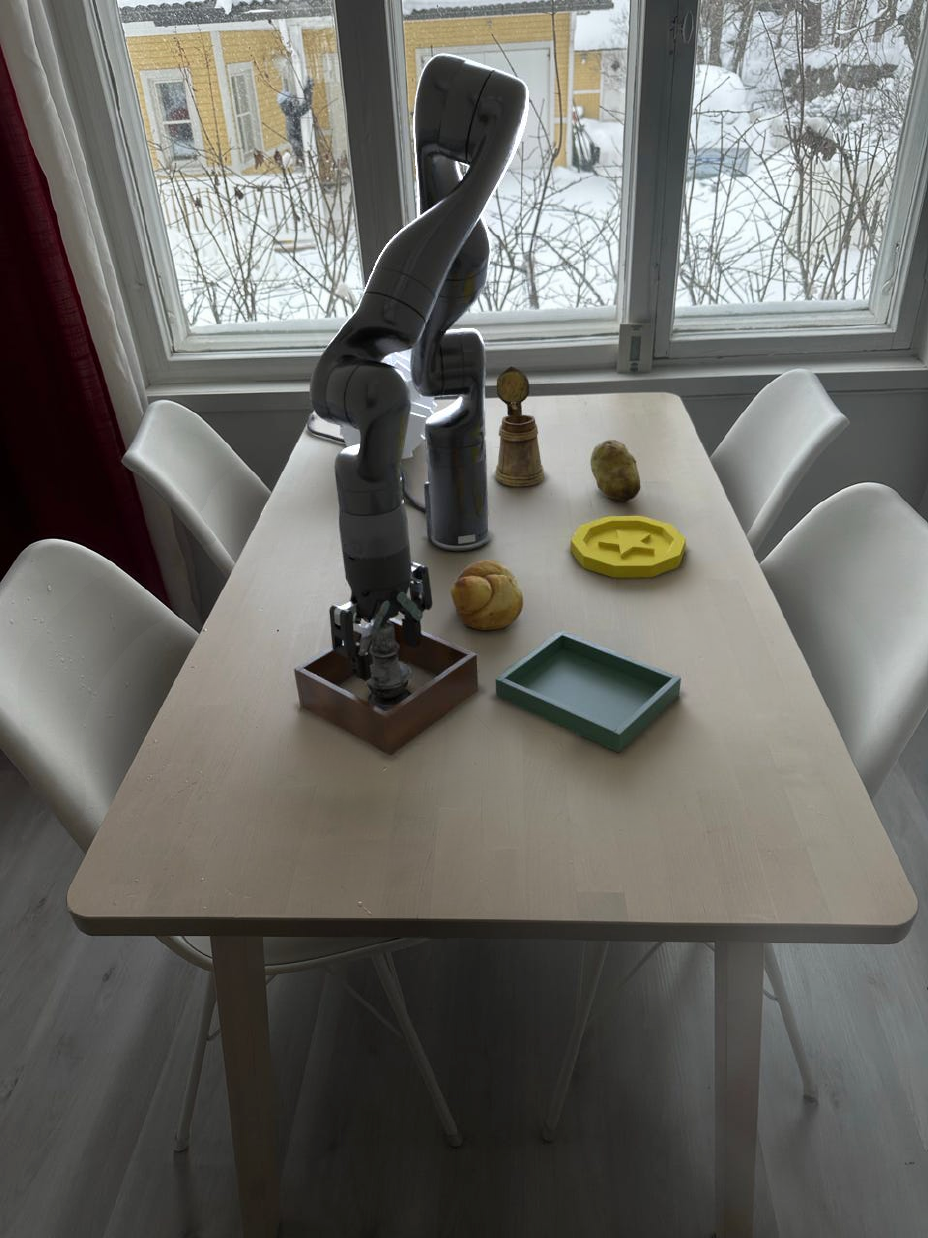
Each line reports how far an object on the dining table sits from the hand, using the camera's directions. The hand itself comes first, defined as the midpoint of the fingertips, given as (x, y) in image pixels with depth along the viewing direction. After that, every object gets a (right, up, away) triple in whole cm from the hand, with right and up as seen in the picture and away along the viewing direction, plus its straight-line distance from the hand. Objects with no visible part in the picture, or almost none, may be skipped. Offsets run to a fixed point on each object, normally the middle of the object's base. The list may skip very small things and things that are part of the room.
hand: (388, 661), depth 111 cm
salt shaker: (0, -5, +3) cm, 6 cm away
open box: (0, -5, +3) cm, 6 cm away
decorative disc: (+35, +15, +33) cm, 50 cm away
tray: (+24, -4, +2) cm, 25 cm away
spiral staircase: (-5, +40, +76) cm, 86 cm away
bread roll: (+13, +6, +20) cm, 24 cm away
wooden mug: (+19, +32, +62) cm, 72 cm away
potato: (+36, +28, +53) cm, 69 cm away
